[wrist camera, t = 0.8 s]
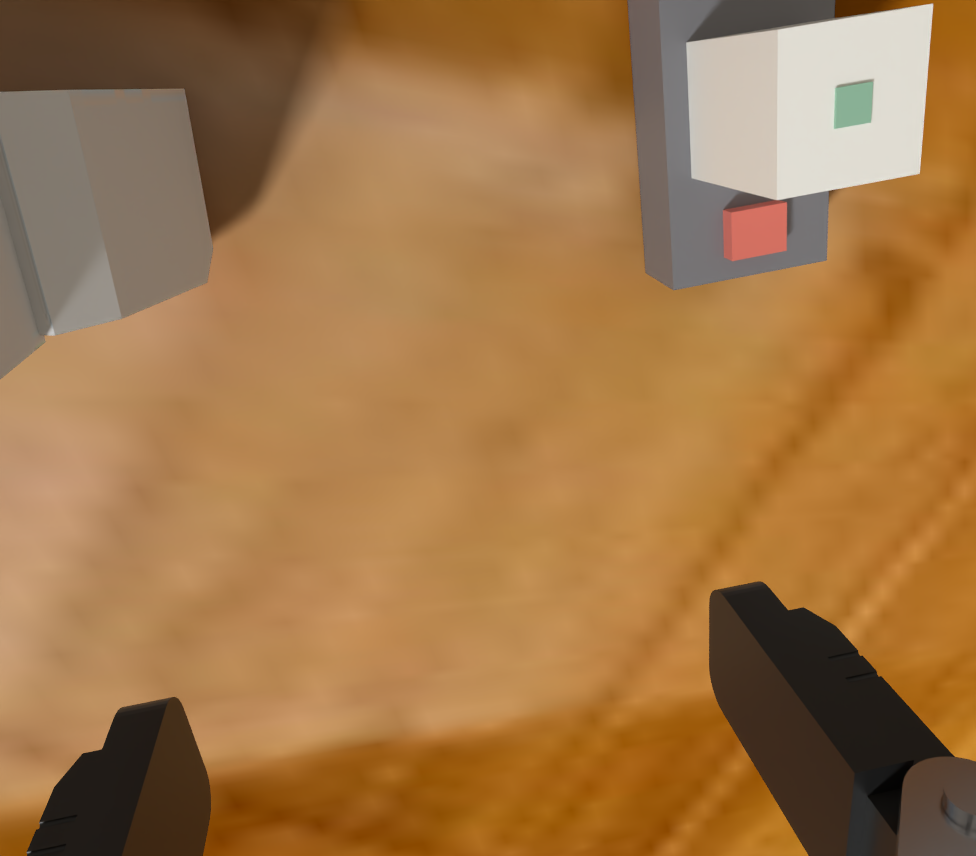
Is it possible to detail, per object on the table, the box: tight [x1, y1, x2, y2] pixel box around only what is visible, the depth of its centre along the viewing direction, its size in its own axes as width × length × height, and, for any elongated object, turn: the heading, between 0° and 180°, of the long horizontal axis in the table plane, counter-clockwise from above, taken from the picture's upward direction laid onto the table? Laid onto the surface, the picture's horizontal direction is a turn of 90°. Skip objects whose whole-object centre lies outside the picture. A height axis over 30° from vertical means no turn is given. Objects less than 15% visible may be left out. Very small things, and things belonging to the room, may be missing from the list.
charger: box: [686, 4, 933, 200], centre depth 28 cm, size 5×5×9 cm
